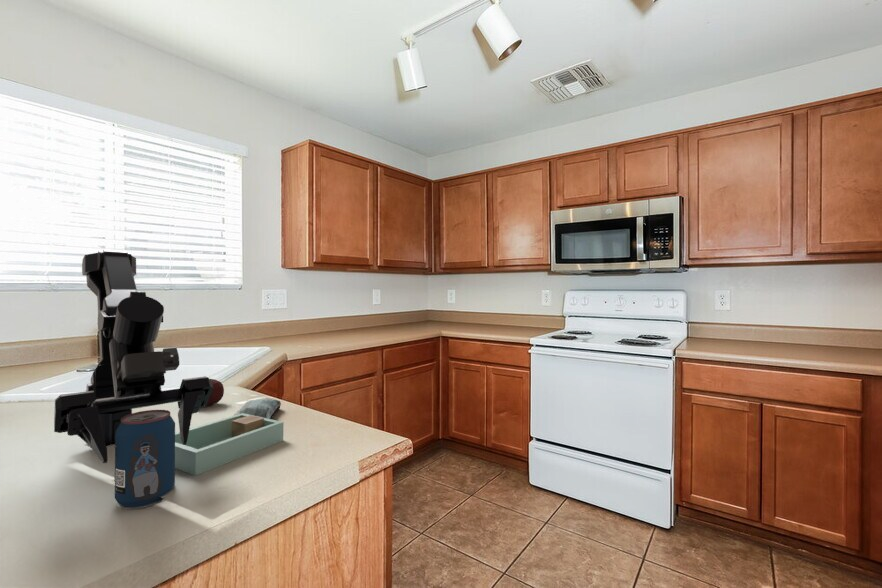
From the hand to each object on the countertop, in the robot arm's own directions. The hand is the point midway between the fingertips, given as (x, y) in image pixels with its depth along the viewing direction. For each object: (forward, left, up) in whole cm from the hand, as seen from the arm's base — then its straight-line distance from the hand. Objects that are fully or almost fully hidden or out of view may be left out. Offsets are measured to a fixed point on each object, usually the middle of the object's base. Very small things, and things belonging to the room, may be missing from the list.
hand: (147, 452), depth 56 cm
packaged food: (-17, +31, -7) cm, 36 cm away
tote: (-6, +15, -7) cm, 18 cm away
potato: (-39, +33, -7) cm, 52 cm away
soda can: (-1, 0, -7) cm, 7 cm away
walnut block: (-6, +21, -6) cm, 22 cm away
